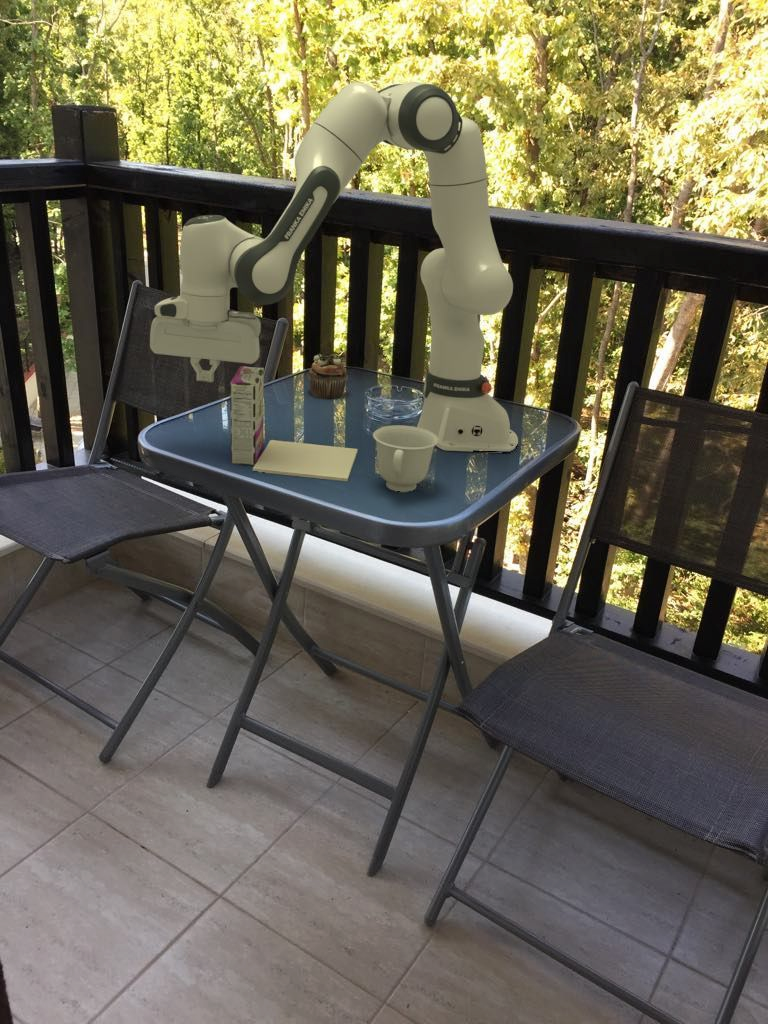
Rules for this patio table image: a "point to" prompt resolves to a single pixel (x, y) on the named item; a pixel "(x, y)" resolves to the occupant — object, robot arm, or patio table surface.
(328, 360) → the cupcake
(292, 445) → the plain beige board
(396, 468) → the teacup
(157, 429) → the patio table surface
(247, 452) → the candy bar box
